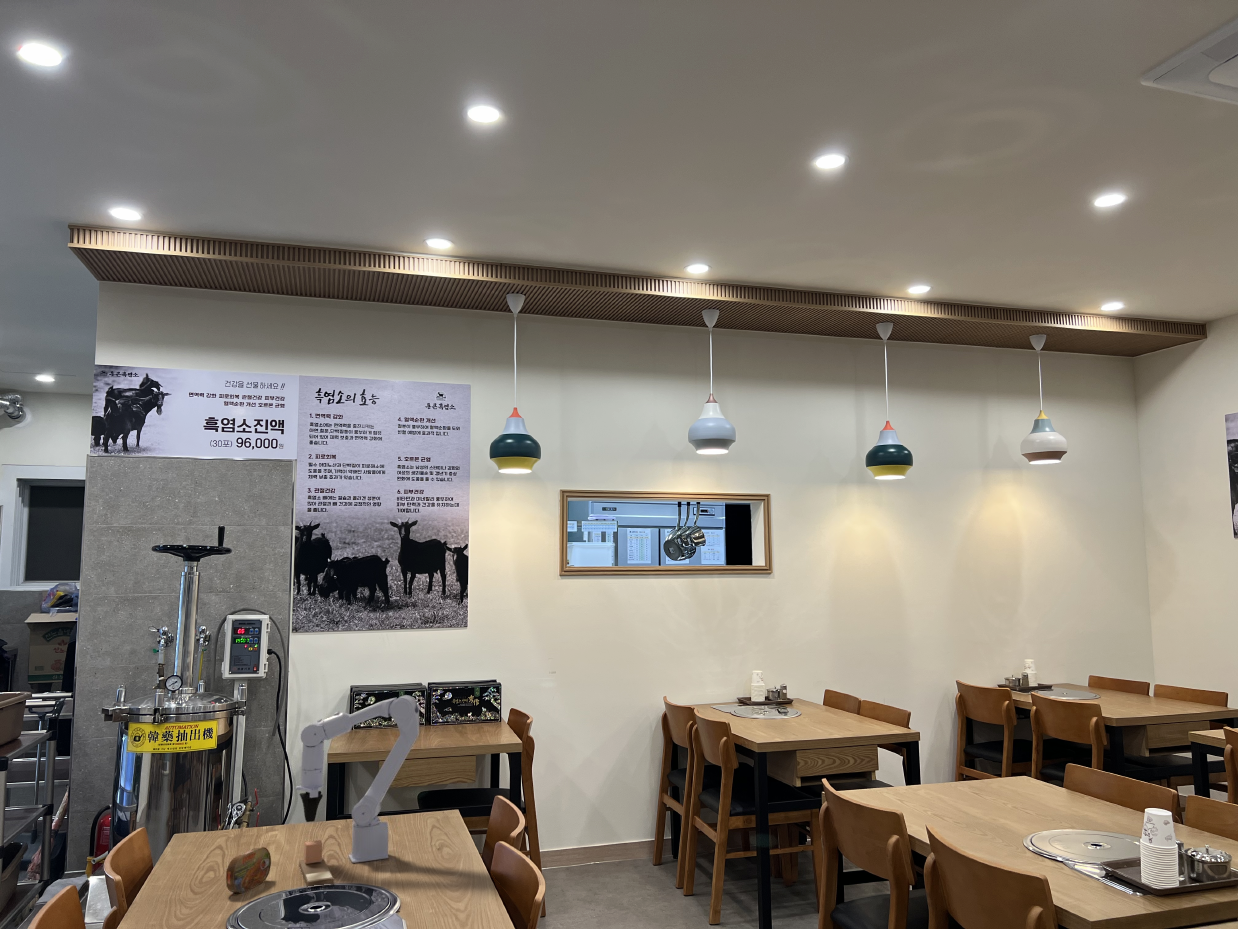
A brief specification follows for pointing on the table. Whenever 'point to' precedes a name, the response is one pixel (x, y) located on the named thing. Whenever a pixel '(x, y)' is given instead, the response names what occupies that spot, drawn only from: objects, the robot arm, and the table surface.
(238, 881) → the tin
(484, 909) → the table surface
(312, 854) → the slider
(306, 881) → the track
